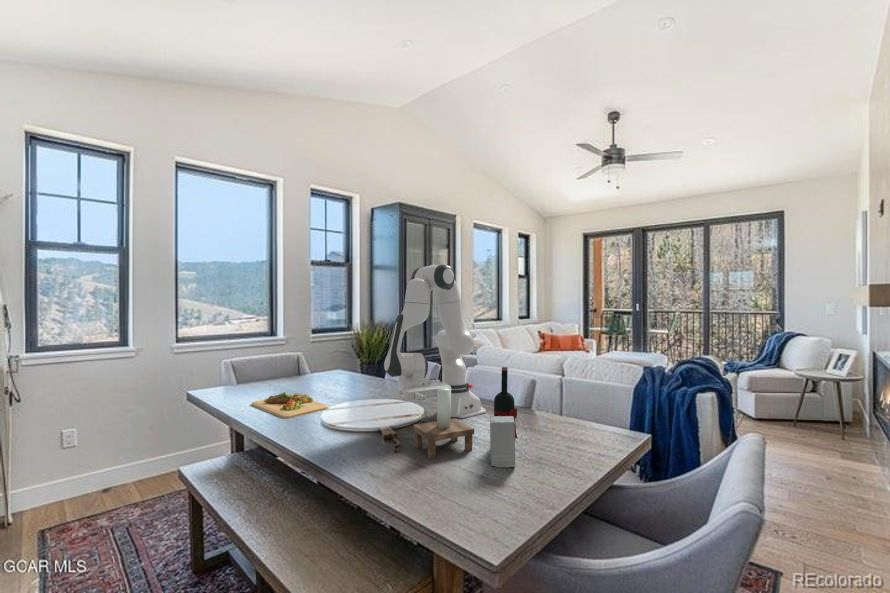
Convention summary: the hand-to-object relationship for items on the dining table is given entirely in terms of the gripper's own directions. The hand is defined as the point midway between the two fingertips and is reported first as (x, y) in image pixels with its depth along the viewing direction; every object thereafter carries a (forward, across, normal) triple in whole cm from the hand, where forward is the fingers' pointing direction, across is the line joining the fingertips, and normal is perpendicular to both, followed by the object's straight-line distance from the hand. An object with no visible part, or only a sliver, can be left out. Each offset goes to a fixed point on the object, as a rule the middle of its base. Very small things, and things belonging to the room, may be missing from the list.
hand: (435, 396), depth 171 cm
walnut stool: (+8, 0, +17) cm, 19 cm away
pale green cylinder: (+8, 0, +9) cm, 12 cm away
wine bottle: (+18, +21, +18) cm, 33 cm away
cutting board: (-75, -42, +18) cm, 88 cm away
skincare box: (+30, +10, +18) cm, 36 cm away
